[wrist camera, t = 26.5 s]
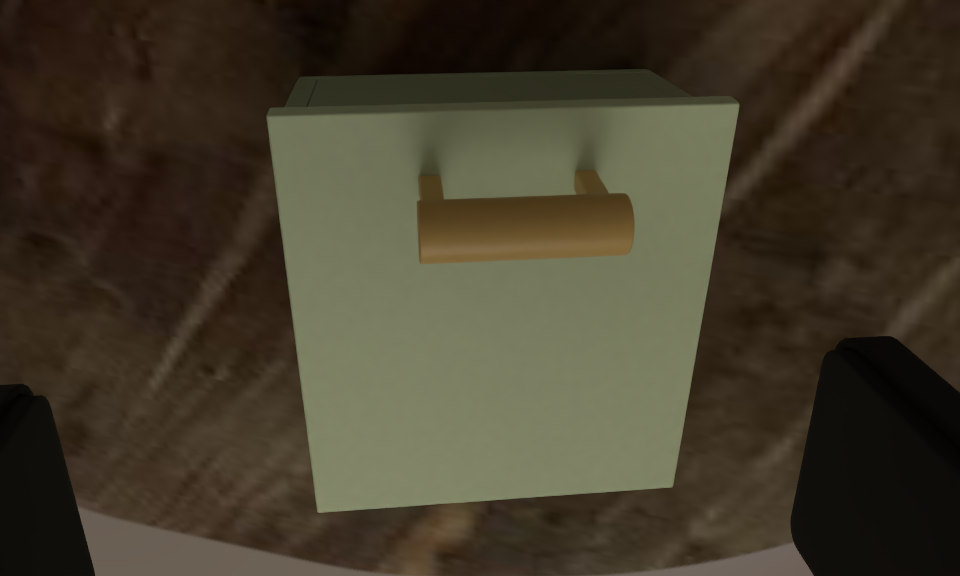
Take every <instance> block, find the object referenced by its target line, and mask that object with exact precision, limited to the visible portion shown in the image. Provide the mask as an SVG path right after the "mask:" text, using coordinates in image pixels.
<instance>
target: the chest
mask: <svg viewBox="0 0 960 576" xmlns="http://www.w3.org/2000/svg"><path fill="white" fill-rule="evenodd" d="M673 97H692V96H690V95H689V94H687V93H685V92H684V91H682V90H681V89H679V88H677V87H676V86H674V85H673V84H671V83H670V82H668V81H666V80H665V79H663V78H662V77H660V76H658V75H657V74H655V73H654V72H651V71H650V70H648V69H625V70H580V71H534V72H489V73H443V74H398V75H352V76H307V77H299V79H298V80H297V82H296V84H295V86H294V88H293V90H292V92H291V94H290V96H289V98H288V100H287V103H286V105H285V107H319V106H359V105H398V104H437V103H476V102H516V101H555V100H594V99H633V98H673Z"/></svg>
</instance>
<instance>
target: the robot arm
mask: <svg viewBox="0 0 960 576" xmlns="http://www.w3.org/2000/svg"><path fill="white" fill-rule="evenodd" d="M791 533H792V538H793V541H794V544H795V546H796V548H797V550H798V551H799V553H800V554H801V556H802V557H803V559H804V561H805V562H806V564H807V565H808V567H809V569H810V570H811V572H812V573H813V575H814V576H960V393H959V392H958V391H957V390H956V389H955V388H953V387H952V386H951V385H950V384H949V383H948V382H946V381H945V380H944V379H943V378H942V377H941V376H939V375H938V374H937V373H936V372H935V371H933V370H932V369H931V368H930V367H929V366H928V365H926V364H925V363H924V362H923V361H922V360H921V359H919V358H918V357H917V356H916V355H915V354H913V353H912V352H911V351H910V350H909V349H908V348H906V347H905V346H904V345H903V344H902V343H901V342H899V341H898V340H897V339H895V338H893V337H891V336H879V337H861V338H845V339H843V340H841V341H840V342H839V343H838V345H837V346H836V349H835V350H832V351H829V352H827V354H826V355H825V357H824V359H823V362H822V367H821V372H820V376H819V381H818V386H817V391H816V396H815V401H814V406H813V411H812V416H811V421H810V426H809V431H808V436H807V441H806V446H805V451H804V455H803V460H802V465H801V470H800V475H799V480H798V485H797V490H796V495H795V500H794V505H793V510H792V515H791ZM0 576H95V573H94V568H93V564H92V560H91V557H90V553H89V549H88V545H87V541H86V538H85V534H84V530H83V526H82V523H81V519H80V515H79V512H78V508H77V504H76V500H75V496H74V493H73V489H72V485H71V481H70V478H69V474H68V470H67V466H66V463H65V459H64V455H63V451H62V448H61V444H60V440H59V436H58V432H57V429H56V425H55V421H54V417H53V414H52V410H51V407H50V404H49V401H48V400H47V399H46V397H44V396H42V395H40V396H34V395H33V392H32V391H31V390H30V388H29V387H28V386H26V385H24V384H12V385H0Z"/></svg>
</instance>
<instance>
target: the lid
mask: <svg viewBox="0 0 960 576" xmlns="http://www.w3.org/2000/svg"><path fill="white" fill-rule="evenodd" d="M738 111H739V103H738V102H737V101H736V100H735V99H734V98H732V97H731V96H712V97H673V98H633V99H594V100H555V101H516V102H476V103H437V104H398V105H359V106H319V107H280V108H269V111H268V114H267V125H268V133H269V141H270V149H271V156H272V164H273V172H274V180H275V187H276V195H277V203H278V211H279V218H280V226H281V234H282V242H283V249H284V257H285V265H286V273H287V280H288V288H289V296H290V304H291V312H292V319H293V327H294V335H295V343H296V350H297V358H298V366H299V374H300V381H301V389H302V397H303V405H304V412H305V420H306V428H307V436H308V444H309V451H310V459H311V467H312V475H313V482H314V490H315V498H316V506H317V511H318V512H319V513H321V512H334V511H348V510H362V509H376V508H390V507H404V506H418V505H432V504H446V503H460V502H473V501H487V500H501V499H515V498H529V497H543V496H557V495H571V494H585V493H599V492H612V491H626V490H640V489H654V488H668V487H673V483H674V477H675V471H676V466H677V460H678V454H679V449H680V443H681V437H682V431H683V426H684V420H685V414H686V408H687V403H688V397H689V391H690V386H691V380H692V374H693V368H694V363H695V357H696V351H697V345H698V340H699V334H700V328H701V323H702V317H703V311H704V305H705V300H706V294H707V288H708V282H709V277H710V271H711V265H712V260H713V254H714V248H715V242H716V237H717V231H718V225H719V220H720V214H721V208H722V202H723V197H724V191H725V185H726V179H727V174H728V168H729V162H730V157H731V151H732V145H733V139H734V134H735V128H736V122H737V116H738Z"/></svg>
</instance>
